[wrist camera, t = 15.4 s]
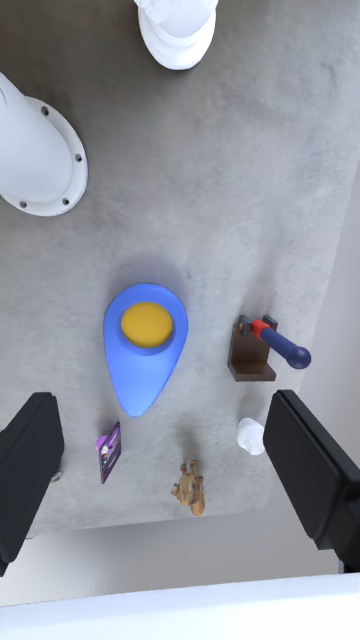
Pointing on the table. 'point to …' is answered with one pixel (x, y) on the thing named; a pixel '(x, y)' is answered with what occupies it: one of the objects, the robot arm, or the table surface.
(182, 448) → the table surface
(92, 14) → the table surface
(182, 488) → the lion figurine
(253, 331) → the blue lever handle
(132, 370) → the location marker
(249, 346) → the brown lever base
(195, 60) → the cherub figurine
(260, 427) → the muffin
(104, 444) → the purple toy package
